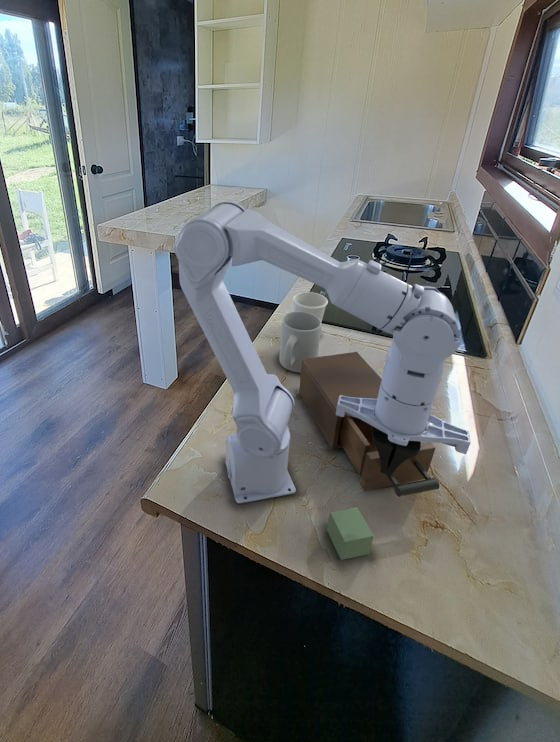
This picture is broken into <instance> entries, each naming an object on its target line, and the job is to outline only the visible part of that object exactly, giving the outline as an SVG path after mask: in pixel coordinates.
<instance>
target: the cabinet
mask: <svg viewBox="0 0 560 742" xmlns="http://www.w3.org/2000/svg"><path fill="white" fill-rule="evenodd" d="M381 380H382V376H380V375H379V374H378V372H376V371H375V370H374V368H373V367H372V366H371V365H370V364H369V363H368V362H367V361H366V359H364V358H363V357H362V356H361V354H360V353H359V352H358V351H352V352H344V353H338V354H337V353H336V354H330V355H322V356H318V357H314V358H307V359H302V367H301V373H300V378H299V386H298V394H299V396H300V398H301V399H302V401H303V402H304V404H305V406H306V408H307V409H308V411H309V413H310V414H311V416H312V418H313V420H314V421H315V423H316V425H317V426H318V428H319V430H320V432H321V433H322V435H323V437H324V438H325V440H326V441H327V444H328V445H329V447H330V448H331V450H337V449H341V448H342V449H343V447H342V445H341V444H340V442H339V441H338V435H339V429H340V424H341V418H342V417H340V416H337V415H336V409H337V403H338V400H339V396H340V395H342V396H347V397H354V398H371V399H377V398H378V393H379V389H380V384H381Z"/></svg>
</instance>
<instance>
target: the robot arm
mask: <svg viewBox="0 0 560 742" xmlns="http://www.w3.org/2000/svg"><path fill="white" fill-rule="evenodd" d="M172 250H173V252H174V254H175V255H176V258H177V260H178V274H179V275H178V277H179V285H180V287H181V290H182V292H183V294H184V296H185V298H186V301H187V303H188V304H189V306H190V308H191V310H192V312H193V314H194V316H195V318H196V320H197V322H198V324H199V326H200V328H201V330H202V332H203V335H204V336H205V338H206V339H207V342H208V344H209V346H210V348H211V350H212V351H213V355H214V356H215V358H216V361H218V363H219V366H220V367H221V370H222V372H223V374H224V375H225V377H226V380H227V381H228V384H229V385H230V388H231V389H232V391H233V402H232V405H233V406H232V419H233V421H234V423H235V425H236V432H234V433H232V434H230V435H227V436H226V437H225V439H226V440H225V461H224V463H225V466H226V472H227V478H228V479H229V482H230V485H231V489H232V492H233V496H234V500H235V502H236V503H237V504H246V503H251V502H256V501H261V500H267V499H272V498H277V497H282V496H288V495H294V494H296V492H297V489H296V486H295V484H294V482H293V479H292V477H291V475H290V473H289V471H288V465H289V455H290V445H291V444H290V443H291V432H290V429H289V426H288V424H289V420H290V417H291V414H292V413H293V412H294V409H295V398H294V397H293V394H291V391H289V390H288V389H287V388H286V387H284V385H283V384H282V383H281V381H280V380H279V378H278V376H277V375H276V374H272V373H267V370H266V369H265V366H264V365H263V363H262V360H261V359H260V355H259V354H258V352H257V350H256V348H255V345H254V343H253V341H252V339H251V337H250V335H249V333H248V331H247V329H246V327H245V324H244V323H243V320H242V317H241V316H240V313H239V312H238V309H237V308H236V306H235V303H234V301H233V299H232V297H231V294H230V293H229V290H228V288H227V285H225V282H224V277H225V275H226V273H227V270H228V268H229V266H230V263H231V267H238V266H242V265H246V264H251V263H253V262H254V263H255V262H258V261H263V262H265V263H268V264H270V265H272V266H275V267H276V268H279V269H280V270H283V271H285V272H287V273H289V274H291V275H294V276H296V277H298V278H301V279H303V280H305V281H308V282H310V283H311V284H314V285H316V286H318V287H321V288H323V289H325V291H326V294H327V295H328V298H329V301H330V303H331V305H333V306H335V307H337V308H339V309H341V310H343V311H345V312H347V313H348V314H350V315H351V316H353V317H356V318H357V319H360V320H361V321H364V322H366V323H367V324H369V325H371V326H373V327H375V328H377V329H378V330H381V331H382V332H384V333H387V334H390V335H392V340H391V344H390V347H389V348H388V350H387V353H386V358H385V363H384V367H383V370H382V376H381V378H382V380H381V384H380V389H379V393H378V398H377V399H371V398H354V397H347V396H342V395H340V396H339V400H338V403H337V409H336V415H337V416H340V417H344V416H345V415H349V416H352V417H355V418H359V419H361V420H363V421H364V422H366V423H368V424H370V425H372V426H373V431H372V439H373V443H374V444H375V446H376V448H377V451H378V453H379V457H380V463H381V469H380V472H381V473H384V474H387V475H390V476H392V474H393V473H394V471H395V470H396V469H397V468H398V467H399V466H400V465H401V464H402V463H403V462H404V461H406V460H407V459H409V458H411V457H414V456H417V454H418V453H419V451H420V448H421V443H426V442H431V443H437V444H443V445H446V446H449V447H453V448H454V450H455V452H457V453H460V454H463V455H467V453H468V451H469V448H470V445H471V436H470V435H471V434H470V431H469V430H467V429H465V428H461V427H458V426H456V425H453V424H451V423H450V422H447V421H445V420H443V419H441V418H439V417H436V416H434V415H432V414H431V411H432V408H433V406H434V402H435V399H436V395H437V393H438V389H439V385H440V383H441V378H442V376H443V372H444V369H445V361H446V359H447V358H449V357H451V356H452V355H453V354H455V353H456V352H457V351H458V350H459V348H460V346H461V344H462V343H461V341H459V340H460V339H459V337H460V330H459V326H458V321H457V319H456V318H457V317H456V314H455V310H454V306H453V305H452V302H451V301H450V299H449V298H448V296H446V295H445V294H444V293H443V292H441V291H439V290H438V288H437V287H434V286H429V285H420V284H418V283H414V284H413V285H411V284H409V283H407V282H405V281H403V280H401V279H399V278H396V277H394V276H393V275H391V274H389V273H387V272H384V271H383V270H382V264H381V263H379V262H377V261H374V260H373V259H370V260H369V261H368V263H367V262H365V261H362V260H361V259H357V258H356V259H352V260H346V261H339V260H338V259H335V258H333V257H332V256H330V255H328V254H327V253H325V252H323V251H321V250H320V249H318V248H316V247H314V246H313V245H311V244H309V243H307V242H305V241H304V240H302V239H300V238H298V237H297V236H295V235H293V234H292V233H290V232H288V231H286V230H284V229H282V228H281V227H280V226H278V225H276V224H274V223H273V222H271V221H269V220H268V219H266V218H265V217H264V216H263V215H262V214H260V213H259V212H258V211H256V210H254V209H249V208H246V209H245V207H244V206H243V205H242V204H239V203H237V202H234V201H230V200H227V201H225V200H224V201H220V202H218V203H216V204H215V205H214V206H212V207H211V209H209V210H208V211H206V212H204V213H202V214H201V215H199V216H198V217H196V218H194V219H193V218H192V219H190V220H188V221H187V222H186V223H185V224H184V225H183V226H182V227H181V229H180V231H179V233H178V235H177V238H176V240H175V242H174V244H173V247H172Z"/></svg>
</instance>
